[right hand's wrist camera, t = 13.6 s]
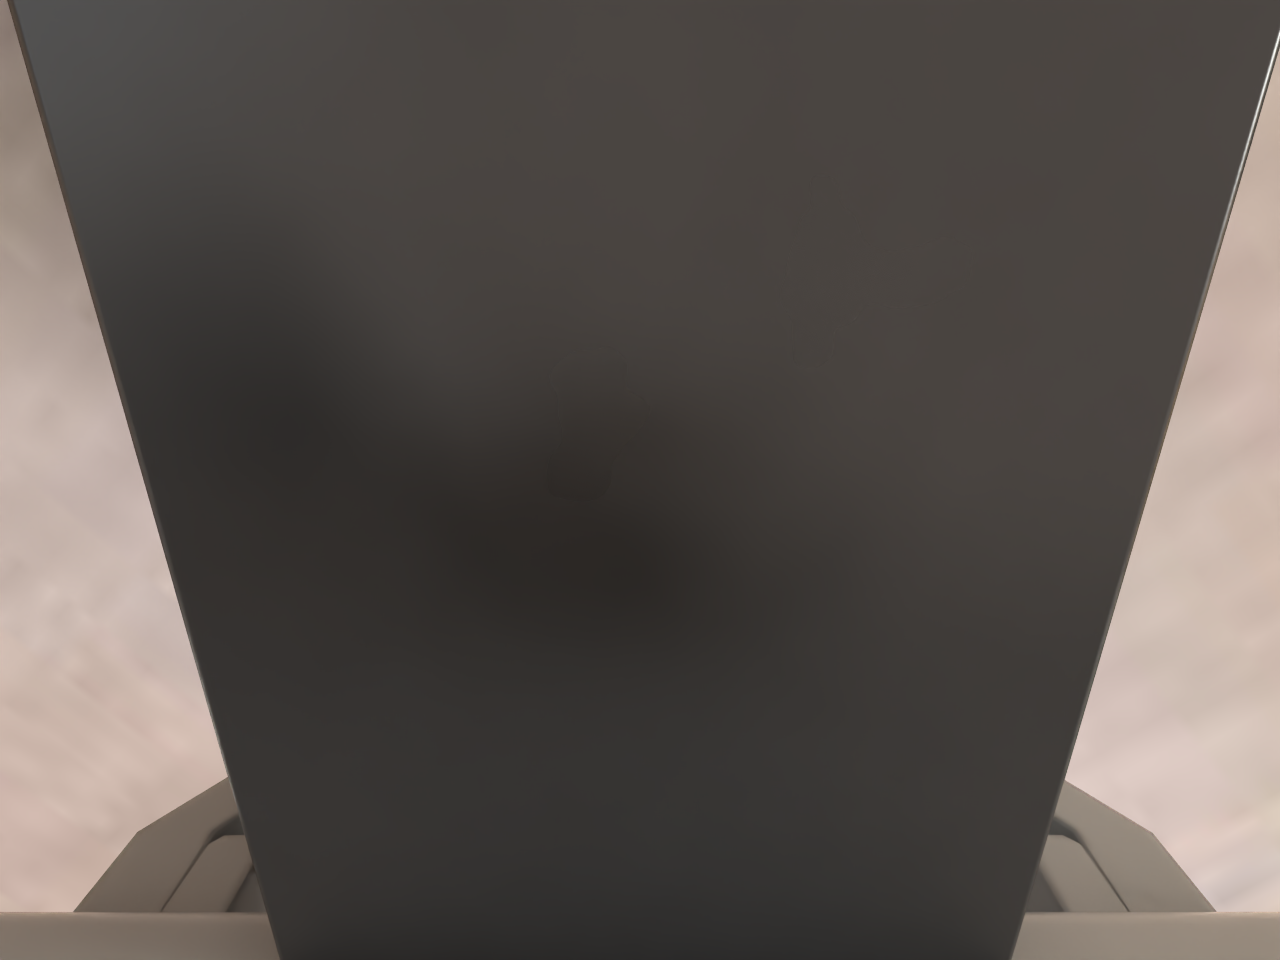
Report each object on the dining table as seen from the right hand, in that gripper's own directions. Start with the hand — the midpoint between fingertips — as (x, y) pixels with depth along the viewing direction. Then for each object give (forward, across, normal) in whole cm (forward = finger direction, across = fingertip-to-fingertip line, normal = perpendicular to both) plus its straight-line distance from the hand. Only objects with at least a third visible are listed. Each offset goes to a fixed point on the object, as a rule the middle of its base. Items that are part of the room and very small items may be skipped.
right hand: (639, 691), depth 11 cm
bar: (+3, 0, -10) cm, 10 cm away
